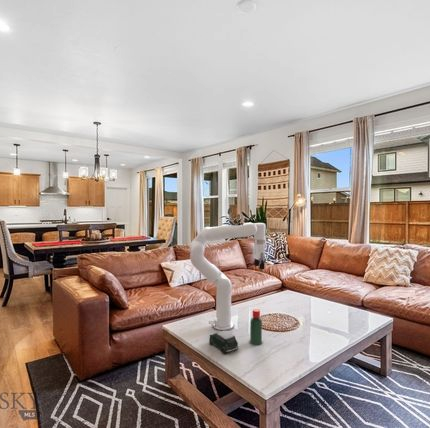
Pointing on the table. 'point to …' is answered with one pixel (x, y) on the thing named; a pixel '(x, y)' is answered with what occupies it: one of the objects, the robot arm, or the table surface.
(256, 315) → the cap
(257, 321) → the bottle
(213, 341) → the miniature car
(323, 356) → the table surface
